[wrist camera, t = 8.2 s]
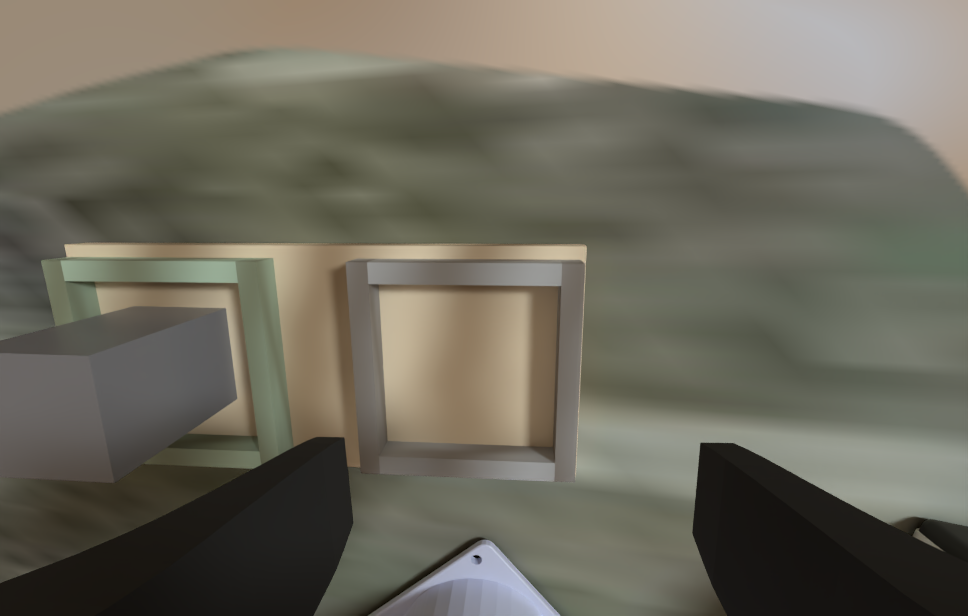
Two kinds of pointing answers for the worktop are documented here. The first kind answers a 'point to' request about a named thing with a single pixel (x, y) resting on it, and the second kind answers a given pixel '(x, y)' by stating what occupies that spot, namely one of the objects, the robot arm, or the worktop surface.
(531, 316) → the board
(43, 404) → the plug
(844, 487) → the worktop surface
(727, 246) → the worktop surface
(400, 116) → the worktop surface
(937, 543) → the battery charger
